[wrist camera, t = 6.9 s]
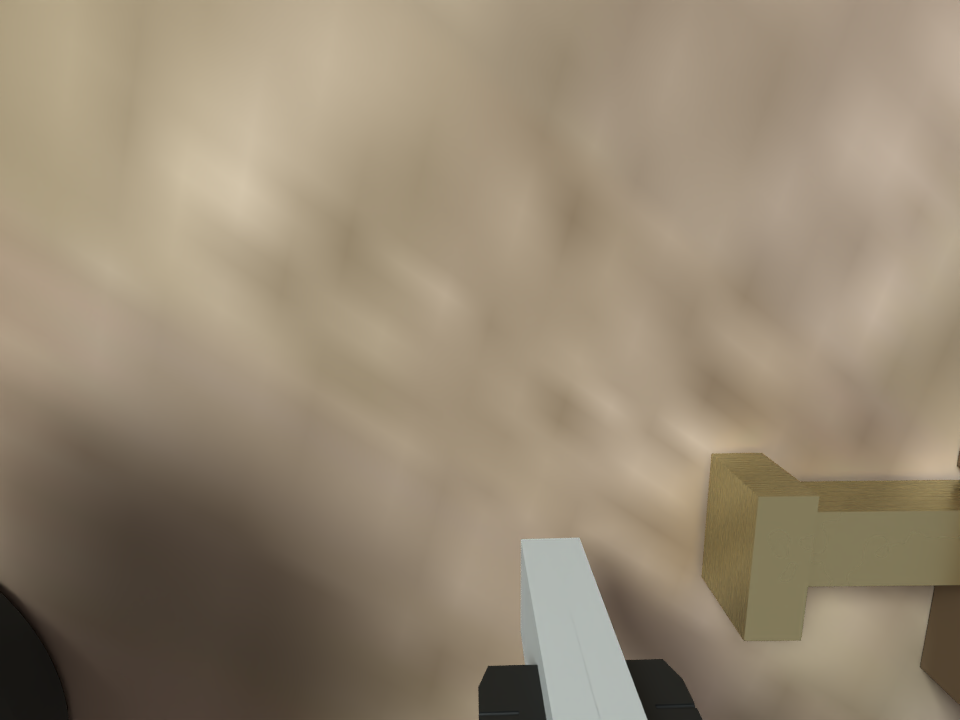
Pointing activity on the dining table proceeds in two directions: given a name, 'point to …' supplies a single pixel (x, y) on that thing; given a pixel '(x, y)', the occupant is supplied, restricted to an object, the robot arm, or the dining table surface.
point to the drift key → (818, 539)
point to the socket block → (944, 639)
